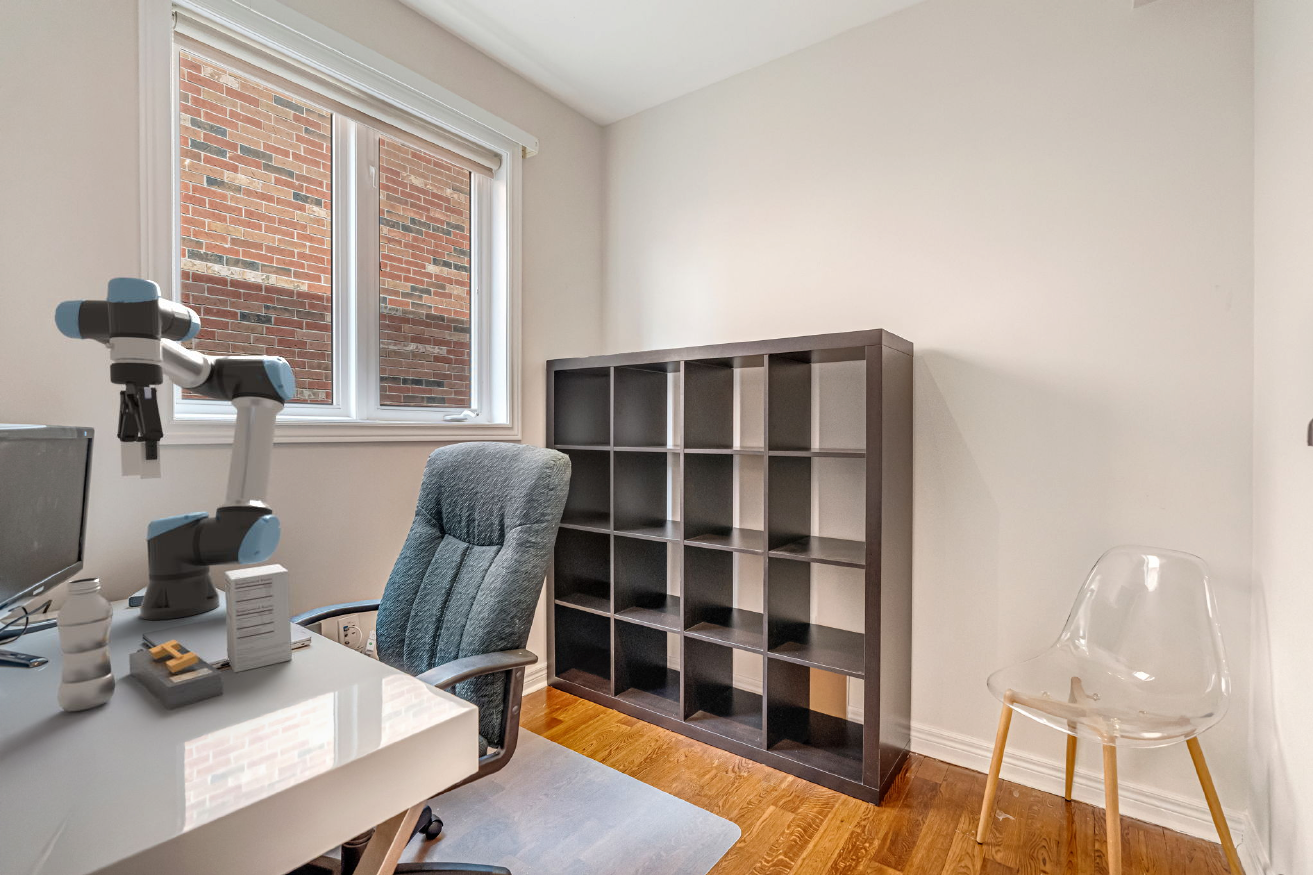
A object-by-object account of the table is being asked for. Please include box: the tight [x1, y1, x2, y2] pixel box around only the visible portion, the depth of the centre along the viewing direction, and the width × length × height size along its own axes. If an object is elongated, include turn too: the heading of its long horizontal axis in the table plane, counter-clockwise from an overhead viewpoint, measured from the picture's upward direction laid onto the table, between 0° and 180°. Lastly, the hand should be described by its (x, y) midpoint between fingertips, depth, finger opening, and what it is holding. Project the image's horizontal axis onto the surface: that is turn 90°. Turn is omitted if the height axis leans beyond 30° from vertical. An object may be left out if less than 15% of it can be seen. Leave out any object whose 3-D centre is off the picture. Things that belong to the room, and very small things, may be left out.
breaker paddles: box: [149, 639, 199, 673], centre depth 106 cm, size 13×4×2 cm, turn 52°
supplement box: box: [224, 563, 293, 673], centre depth 116 cm, size 10×9×17 cm
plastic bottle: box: [55, 577, 116, 712], centre depth 97 cm, size 6×7×20 cm
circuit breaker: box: [128, 643, 224, 711], centre depth 109 cm, size 34×7×4 cm, turn 52°
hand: (140, 477), depth 115 cm, fingers open, 13 cm apart
